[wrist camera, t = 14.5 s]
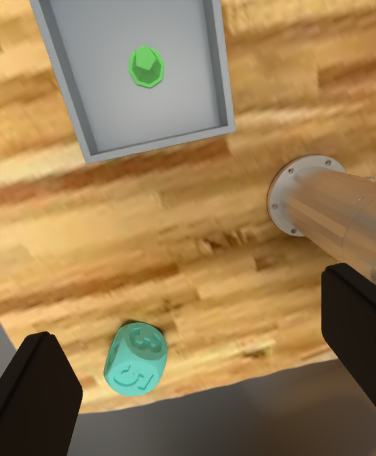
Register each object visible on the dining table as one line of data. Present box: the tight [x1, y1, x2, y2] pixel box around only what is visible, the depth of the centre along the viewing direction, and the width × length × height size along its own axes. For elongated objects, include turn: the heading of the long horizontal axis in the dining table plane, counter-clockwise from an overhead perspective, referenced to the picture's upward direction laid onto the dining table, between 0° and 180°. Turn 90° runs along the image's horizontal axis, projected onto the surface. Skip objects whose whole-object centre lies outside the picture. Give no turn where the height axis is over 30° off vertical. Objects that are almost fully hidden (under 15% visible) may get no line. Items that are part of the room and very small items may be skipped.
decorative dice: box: [104, 323, 168, 396], centre depth 44 cm, size 8×8×8 cm
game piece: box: [128, 46, 165, 88], centre depth 29 cm, size 4×4×6 cm
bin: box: [30, 0, 236, 164], centre depth 30 cm, size 18×18×5 cm
